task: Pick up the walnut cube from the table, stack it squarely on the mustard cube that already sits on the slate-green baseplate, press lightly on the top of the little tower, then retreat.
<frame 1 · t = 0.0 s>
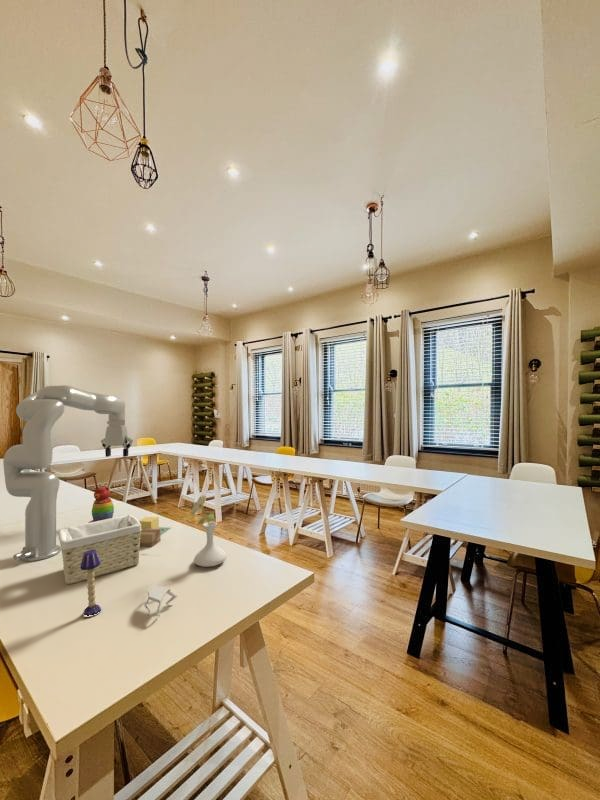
hand: (116, 456, 176), 31 cm above the table, tool pointing down, fingers open, 9 cm apart
stacking bear: (102, 524, 164), on the table
walnut cube: (149, 546, 137), on the table
flower in vase: (208, 564, 120), on the table
white legged frame: (157, 608, 94), on the table
storage basket: (100, 568, 119), on the table
mustard cube: (148, 532, 149), point 1 cm above the table, touching baseplate
toy lamp: (90, 613, 92), on the table
baseplate: (148, 535, 148), on the table
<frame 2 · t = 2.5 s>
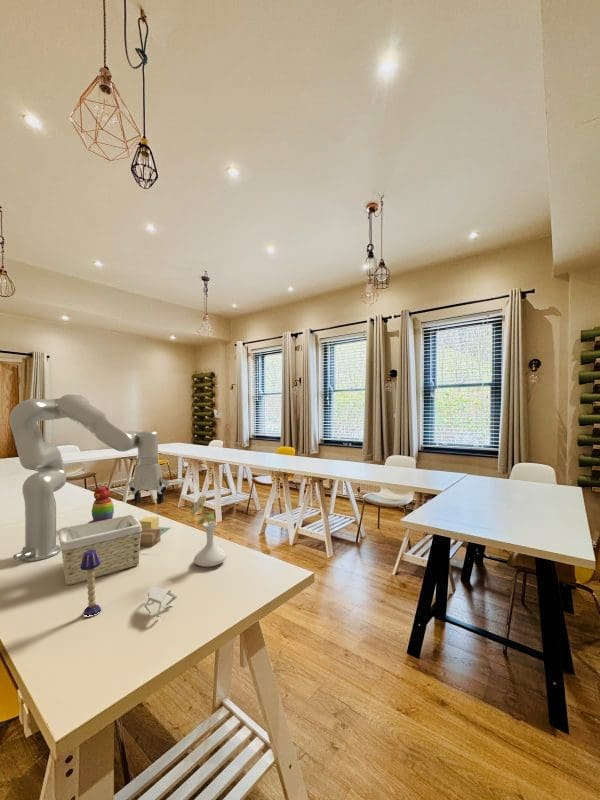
hand: (149, 503, 138), 17 cm above the table, tool pointing down, fingers open, 9 cm apart
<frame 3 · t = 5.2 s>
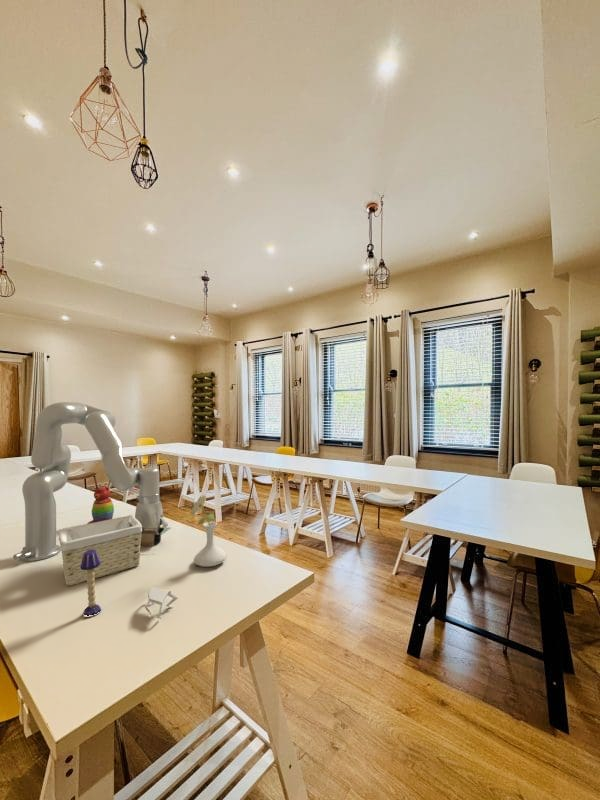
hand: (149, 543, 137), 1 cm above the table, tool pointing down, fingers closed on walnut cube, 6 cm apart
walnut cube: (149, 546, 137), on the table, touching gripper
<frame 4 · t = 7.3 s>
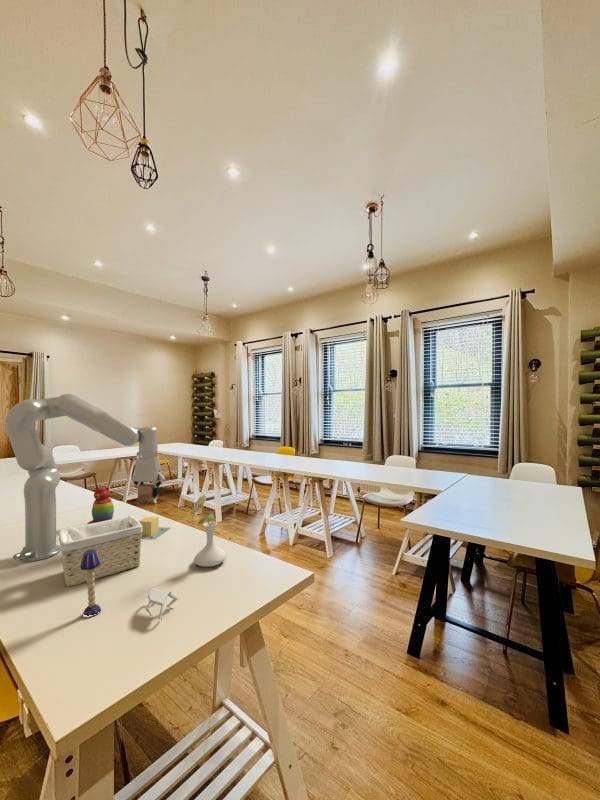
hand: (148, 495, 148), 17 cm above the table, tool pointing down, fingers closed on walnut cube, 6 cm apart
walnut cube: (148, 498, 148), point 16 cm above the table, touching gripper
when the fingers open (9 cm above the table, at t = 9.7 s): walnut cube drops 1 cm, resting on mustard cube.
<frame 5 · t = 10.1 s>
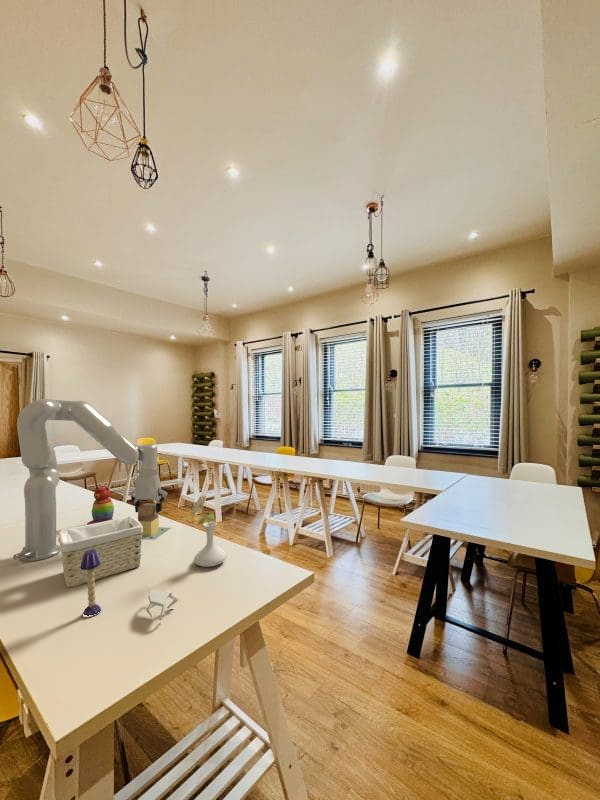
hand: (148, 511, 149), 10 cm above the table, tool pointing down, fingers open, 9 cm apart
walnut cube: (148, 519, 149), point 7 cm above the table, touching mustard cube
mustard cube: (148, 532, 149), point 1 cm above the table, touching baseplate, walnut cube
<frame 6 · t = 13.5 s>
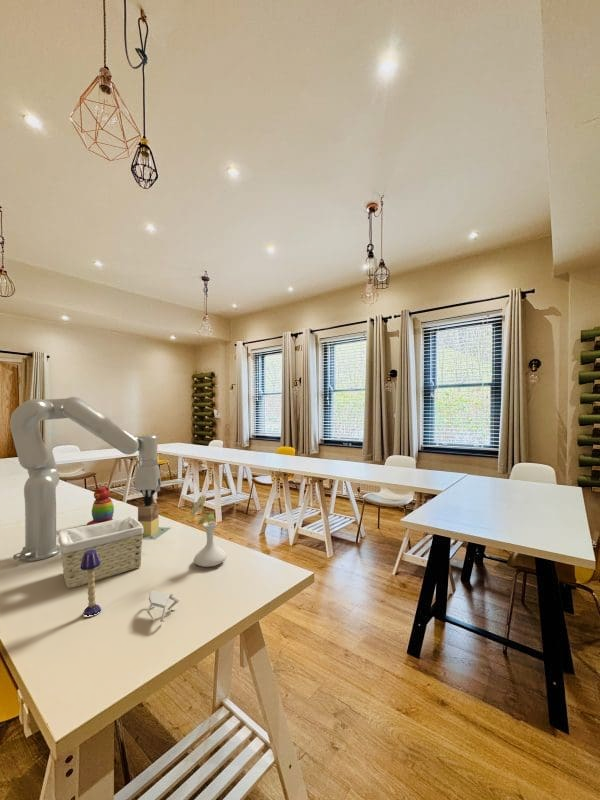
hand: (148, 504, 149), 13 cm above the table, tool pointing down, fingers closed
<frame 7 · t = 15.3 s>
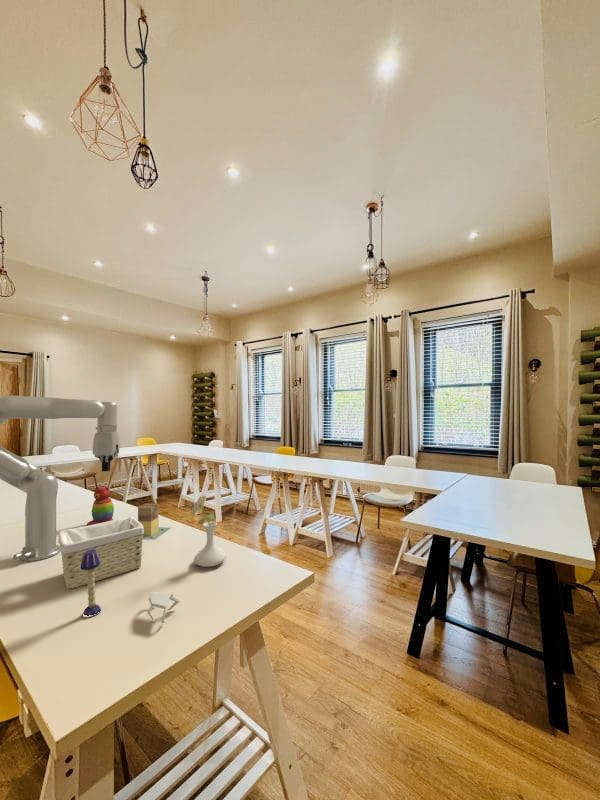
hand: (105, 470, 149), 28 cm above the table, tool pointing down, fingers closed
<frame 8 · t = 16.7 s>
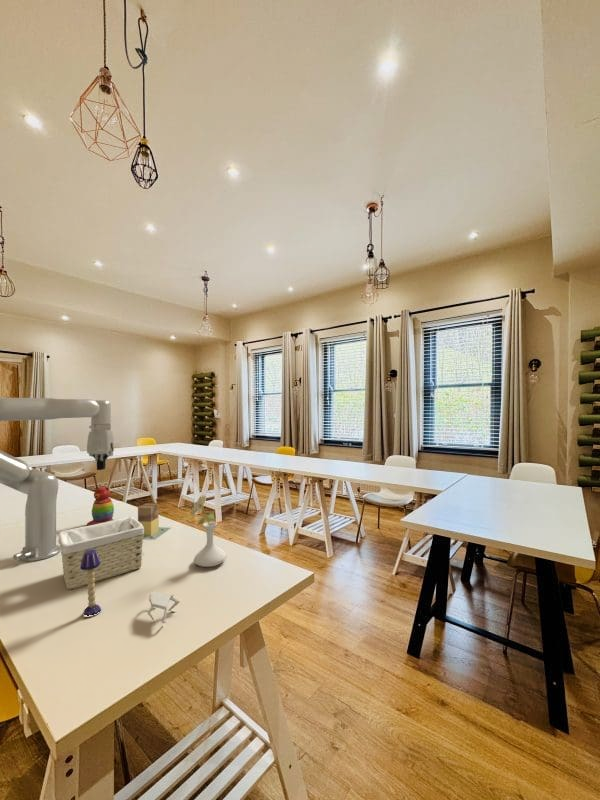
hand: (101, 469, 150), 29 cm above the table, tool pointing down, fingers closed
at the end: walnut cube 0.0 cm off-centre on the mustard cube, point 6.0 cm above the mustard cube's base; walnut cube tilted 0°; the gripper is holding nothing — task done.
